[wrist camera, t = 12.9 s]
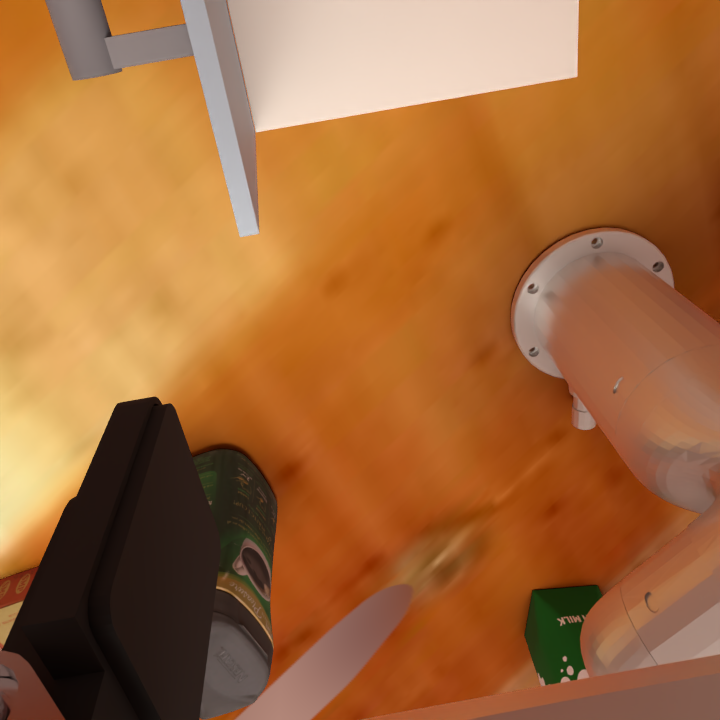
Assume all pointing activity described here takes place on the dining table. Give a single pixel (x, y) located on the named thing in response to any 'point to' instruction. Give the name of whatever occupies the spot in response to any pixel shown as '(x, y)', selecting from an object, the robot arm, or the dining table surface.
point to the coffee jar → (238, 581)
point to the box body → (394, 52)
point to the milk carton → (559, 632)
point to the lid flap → (197, 37)
